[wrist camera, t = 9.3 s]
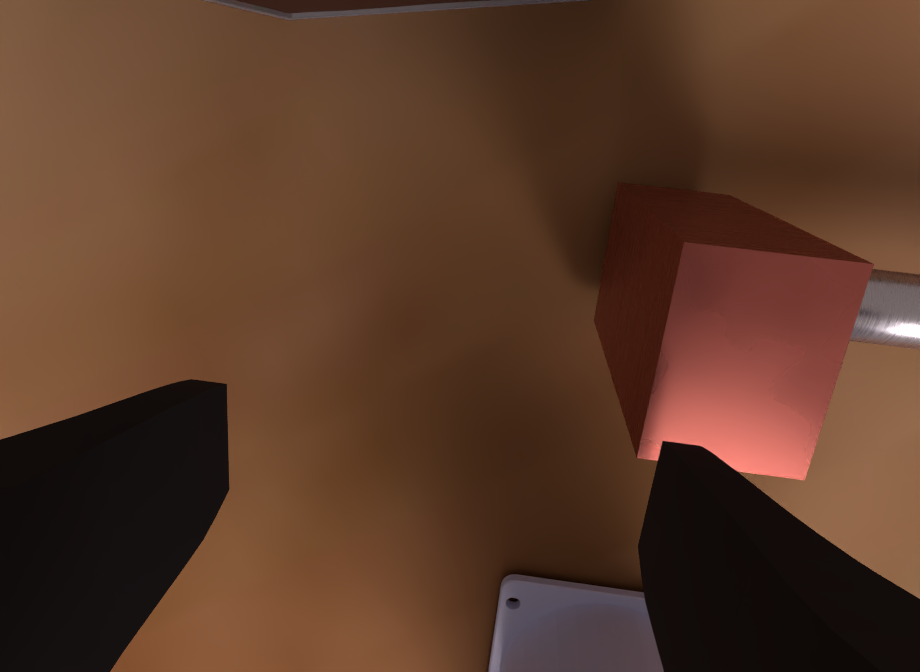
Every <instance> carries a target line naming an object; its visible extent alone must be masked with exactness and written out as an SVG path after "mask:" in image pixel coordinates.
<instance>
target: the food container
mask: <svg viewBox="0 0 920 672" xmlns="http://www.w3.org/2000/svg"><path fill="white" fill-rule="evenodd" d="M203 1H208V2H212V3H216V4H220V5H225V6H229V7H233V8H238V9H242V10H246V11H250V12H255V13H259V14H263V15H268V16H272V17H276V18H280V19H285V20H296V19H312V18H327V17H343V16H358V15H373V14H389V13H404V12H420V11H435V10H450V9H466V8H481V7H497V6H512V5H528V4H543V3H558V2H574V1H589V0H203Z"/></svg>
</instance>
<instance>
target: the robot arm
mask: <svg viewBox="0 0 920 672" xmlns="http://www.w3.org/2000/svg"><path fill="white" fill-rule="evenodd" d="M228 491H229V462H228V421H227V384H223V383H215V382H207V381H200V380H192V379H191V380H185V381H180V382H176V383H173V384H169V385H166V386H163V387H159V388H156V389H153V390H150V391H147V392H144V393H141V394H138V395H135V396H133V397H130V398H127V399H124V400H121V401H118V402H115V403H112V404H110V405H107V406H104V407H101V408H98V409H95V410H92V411H89V412H86V413H84V414H81V415H78V416H75V417H72V418H68V419H65V420H62V421H59V422H56V423H53V424H49V425H46V426H43V427H40V428H37V429H33V430H30V431H27V432H24V433H21V434H18V435H14V436H11V437H8V438H4V439H1V440H0V672H110V671H111V669H112V668H113V666H114V665H115V663H116V662H117V660H118V659H119V657H120V656H121V654H122V653H123V651H124V650H125V649H126V647H127V646H128V644H129V643H130V642H131V640H132V639H133V637H134V636H135V635H136V633H137V632H138V630H139V629H140V628H141V626H142V625H143V624H144V622H145V621H146V619H147V618H148V617H149V615H150V614H151V612H152V611H153V610H154V608H155V607H156V606H157V604H158V603H159V601H160V600H161V599H162V597H163V596H164V594H165V593H166V592H167V590H168V589H169V588H170V586H171V585H172V583H173V582H174V581H175V579H176V578H177V576H178V575H179V574H180V572H181V571H182V569H183V568H184V567H185V565H186V564H187V562H188V561H189V559H190V558H191V557H192V555H193V554H194V552H195V551H196V549H197V548H198V547H199V545H200V544H201V542H202V541H203V539H204V537H205V536H206V534H207V532H208V530H209V528H210V526H211V525H212V523H213V521H214V519H215V517H216V515H217V513H218V511H219V509H220V507H221V505H222V503H223V501H224V499H225V497H226V495H227V493H228ZM638 550H639V559H640V567H641V576H642V583H643V590H644V592H637V591H630V590H623V589H616V588H609V587H602V586H595V585H588V584H581V583H574V582H567V581H560V580H553V579H546V578H539V577H532V576H525V575H518V574H511V575H508V576H506V577H505V578H504V579H503V580H502V583H501V588H500V595H499V601H498V608H497V615H496V621H495V628H494V635H493V641H492V648H491V655H490V661H489V668H488V672H920V599H919V598H917V597H915V596H914V595H912V594H910V593H909V592H907V591H905V590H904V589H902V588H900V587H899V586H897V585H895V584H894V583H892V582H890V581H889V580H887V579H885V578H884V577H882V576H881V575H879V574H877V573H876V572H874V571H872V570H871V569H869V568H868V567H866V566H865V565H863V564H862V563H860V562H858V561H857V560H855V559H854V558H852V557H851V556H849V555H848V554H847V553H845V552H844V551H842V550H841V549H839V548H838V547H837V546H835V545H834V544H832V543H831V542H829V541H828V540H826V539H825V538H824V537H822V536H821V535H819V534H818V533H816V532H815V531H814V530H812V529H811V528H810V527H808V526H807V525H805V524H804V523H803V522H801V521H800V520H799V519H797V518H796V517H795V516H793V515H792V514H791V513H789V512H788V511H787V510H785V509H784V508H783V507H782V506H780V505H779V504H778V503H776V502H775V501H774V500H772V499H771V498H770V497H769V496H767V495H766V494H765V493H764V492H762V491H761V490H760V489H758V488H757V487H756V486H755V485H753V484H752V483H751V482H750V481H748V480H747V479H746V478H745V477H743V476H742V475H741V474H739V473H738V472H737V471H736V470H734V469H733V468H732V467H731V466H729V465H728V464H727V463H725V462H724V461H723V460H721V459H720V458H719V457H717V456H716V455H715V454H713V453H712V452H710V451H709V450H707V449H705V448H704V447H702V446H698V445H691V444H683V443H675V442H668V441H662V446H661V450H660V454H659V458H658V463H657V467H656V471H655V476H654V480H653V484H652V488H651V493H650V497H649V501H648V506H647V510H646V514H645V518H644V523H643V527H642V531H641V536H640V540H639V544H638ZM509 598H516V599H518V601H516V602H512V601H509V600H508V599H509Z"/></svg>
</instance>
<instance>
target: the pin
mask: <svg viewBox="0 0 920 672" xmlns="http://www.w3.org/2000/svg"><path fill="white" fill-rule="evenodd" d="M873 266H874V264H872V263H870V262H868V261H866V260H864V259H862V258H860V257H858V256H856V255H854V254H852V253H849V252H847V251H845V250H843V249H841V248H839V247H837V246H835V245H833V244H831V243H829V242H826V241H824V240H822V239H820V238H818V237H816V236H814V235H812V234H810V233H808V232H806V231H803V230H801V229H799V228H797V227H795V226H793V225H791V224H789V223H787V222H785V221H783V220H780V219H778V218H776V217H774V216H772V215H770V214H768V213H766V212H764V211H762V210H760V209H757V208H755V207H753V206H751V205H749V204H747V203H745V202H743V201H741V200H739V199H737V198H734V197H732V196H730V195H724V194H716V193H707V192H698V191H689V190H680V189H671V188H662V187H653V186H644V185H636V184H627V183H618V188H617V194H616V199H615V205H614V210H613V216H612V222H611V227H610V233H609V238H608V244H607V250H606V255H605V261H604V266H603V272H602V278H601V283H600V289H599V294H598V300H597V306H596V311H595V317H594V322H595V325H596V329H597V332H598V335H599V338H600V341H601V345H602V348H603V351H604V354H605V357H606V361H607V364H608V367H609V370H610V373H611V377H612V380H613V383H614V386H615V389H616V393H617V396H618V399H619V402H620V405H621V409H622V412H623V415H624V418H625V421H626V425H627V428H628V431H629V434H630V437H631V441H632V444H633V447H634V450H635V453H636V457H637V458H641V459H649V460H656V461H658V458H659V454H660V450H661V446H662V441H668V442H675V443H683V444H691V445H698V446H702V447H704V448H705V449H707V450H709V451H710V452H712V453H713V454H715V455H716V456H717V457H719V458H720V459H721V460H723V461H724V462H725V463H727V464H728V465H729V466H731V467H732V468H733V469H734V470H736V471H739V472H747V473H754V474H762V475H769V476H777V477H784V478H792V479H799V480H805V477H806V474H807V471H808V468H809V465H810V461H811V458H812V455H813V452H814V449H815V446H816V443H817V440H818V437H819V433H820V430H821V427H822V424H823V421H824V418H825V415H826V412H827V409H828V405H829V402H830V399H831V396H832V393H833V390H834V387H835V384H836V381H837V377H838V374H839V371H840V368H841V365H842V362H843V359H844V356H845V353H846V349H847V346H848V343H849V341H854V342H862V343H871V344H879V345H887V346H895V347H903V348H911V349H920V274H912V273H903V272H894V271H886V270H877V269H873Z"/></svg>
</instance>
